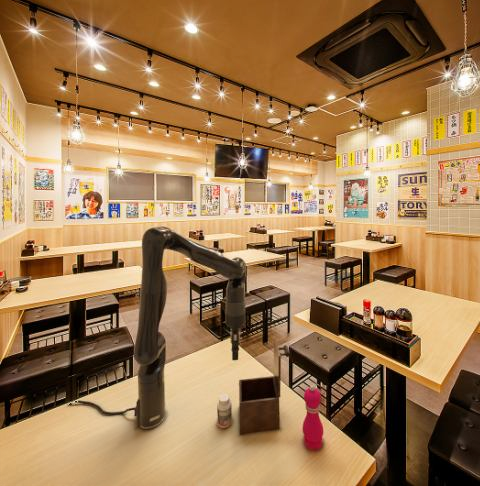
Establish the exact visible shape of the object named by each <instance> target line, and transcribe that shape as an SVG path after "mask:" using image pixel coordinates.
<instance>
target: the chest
mask: <svg viewBox="0 0 480 486" xmlns="http://www.w3.org/2000/svg"><path fill="white" fill-rule="evenodd" d="M238 396H239V397H238V400H239V402H238V403H239V406H238V407H239V409H238V410H239V411H238V412H239V436H242V435H249V434H254V433H255V434H256V433H263V432H270V431H276V430H280V428H281V425H280V424H281V423H280V422H281V419H280V417H281V415H280V413H281V412H280V397H278V394H277V389H276V384H275V379H274V375H271V376H262V377H261V376H260V377H254V378H253V377H251V378H244V379H238Z"/></svg>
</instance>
